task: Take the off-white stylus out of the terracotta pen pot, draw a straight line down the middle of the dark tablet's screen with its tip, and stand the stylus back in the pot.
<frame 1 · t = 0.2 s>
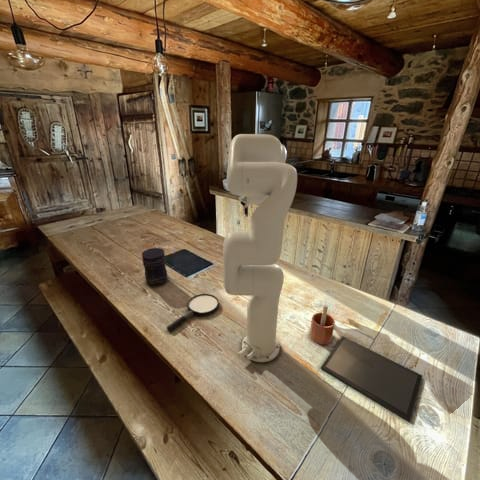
hand: (257, 215, 117), 31 cm above the table, tool pointing down, fingers open, 9 cm apart
pen pot: (320, 336, 94), on the table
storage jar: (157, 281, 125), on the table
tablet: (370, 373, 80), on the table
stylus: (320, 335, 94), resting on pen pot
magnifying glass: (193, 314, 104), on the table
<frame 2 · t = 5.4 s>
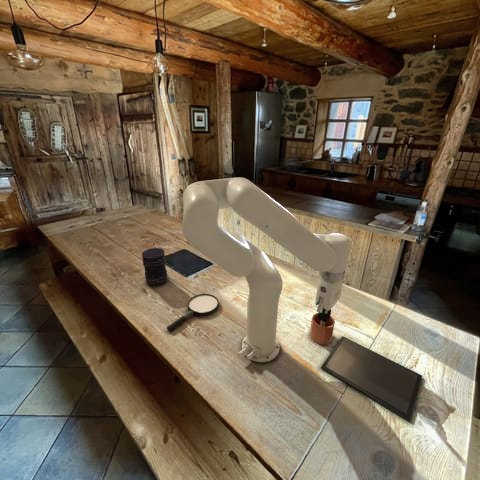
hand: (323, 318, 90), 8 cm above the table, tool pointing down, fingers closed on stylus, 1 cm apart
stylus: (320, 335, 94), resting on pen pot, touching gripper
everything else where it was.
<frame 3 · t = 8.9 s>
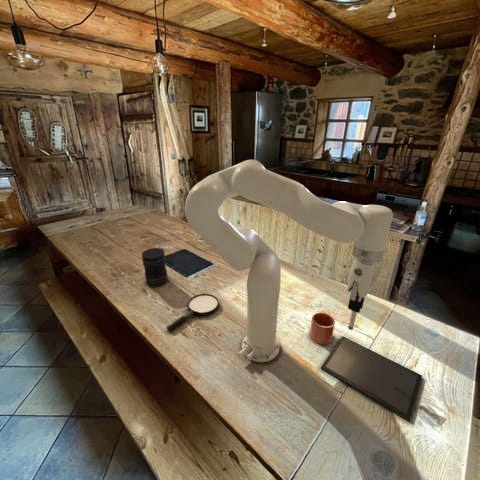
hand: (354, 308, 77), 20 cm above the table, tool pointing down, fingers closed on stylus, 1 cm apart
stylus: (350, 328, 80), point 12 cm above the table, touching gripper
everything else where it was.
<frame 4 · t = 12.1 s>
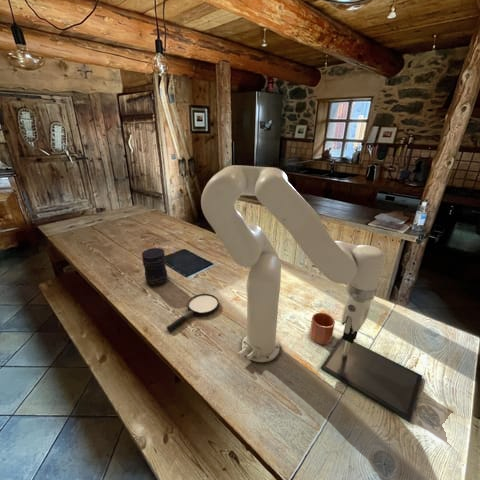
hand: (349, 338, 82), 9 cm above the table, tool pointing down, fingers closed on stylus, 1 cm apart
stylus: (344, 356, 85), point 1 cm above the table, touching gripper
everything else where it was.
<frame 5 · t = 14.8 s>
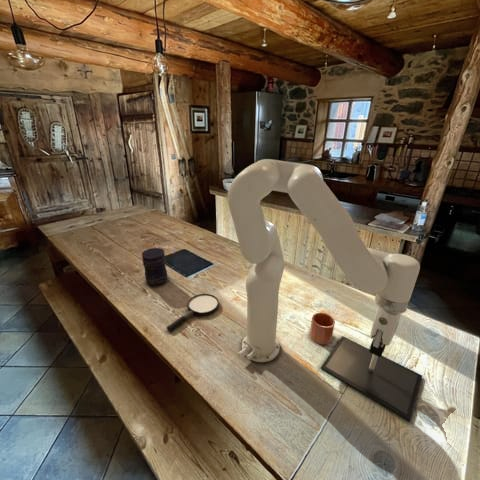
hand: (376, 351, 77), 9 cm above the table, tool pointing down, fingers closed on stylus, 1 cm apart
stylus: (371, 370, 80), point 1 cm above the table, touching gripper
everything else where it was.
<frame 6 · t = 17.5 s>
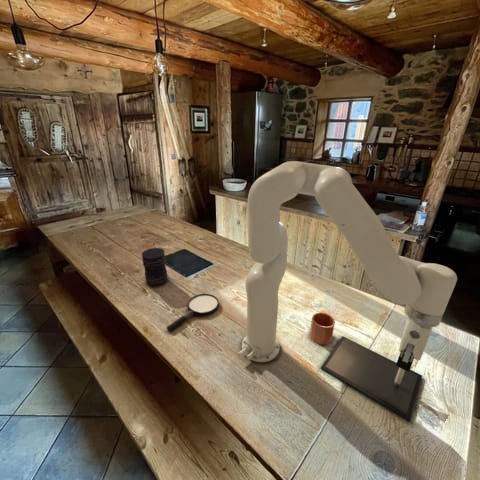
hand: (403, 365, 73), 9 cm above the table, tool pointing down, fingers closed on stylus, 1 cm apart
stylus: (396, 384, 76), point 1 cm above the table, touching gripper
everything else where it was.
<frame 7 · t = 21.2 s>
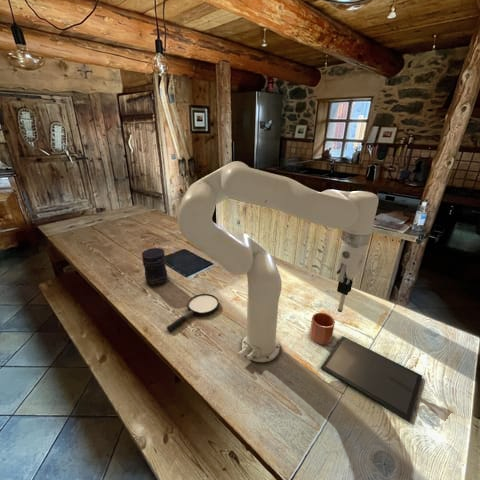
hand: (343, 291, 81), 22 cm above the table, tool pointing down, fingers closed on stylus, 1 cm apart
stylus: (339, 310, 84), point 14 cm above the table, touching gripper
everything else where it was.
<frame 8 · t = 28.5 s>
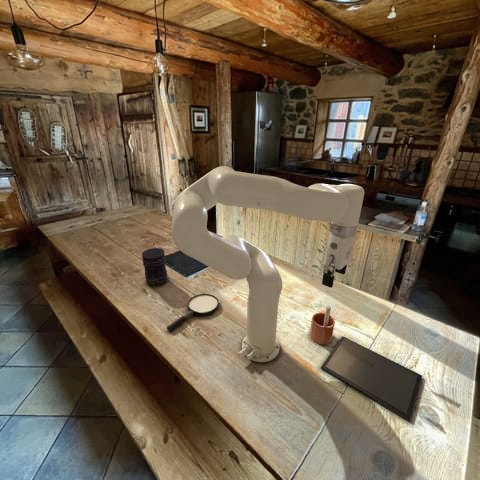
hand: (333, 279, 83), 24 cm above the table, tool pointing down, fingers open, 9 cm apart
stylus: (323, 336, 93), resting on pen pot
everything else where it was.
at the end: stylus 1.0 cm off-centre in the pen pot, point 0.5 cm above the pen pot's base; stylus tilted 0°; the gripper is holding nothing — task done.
